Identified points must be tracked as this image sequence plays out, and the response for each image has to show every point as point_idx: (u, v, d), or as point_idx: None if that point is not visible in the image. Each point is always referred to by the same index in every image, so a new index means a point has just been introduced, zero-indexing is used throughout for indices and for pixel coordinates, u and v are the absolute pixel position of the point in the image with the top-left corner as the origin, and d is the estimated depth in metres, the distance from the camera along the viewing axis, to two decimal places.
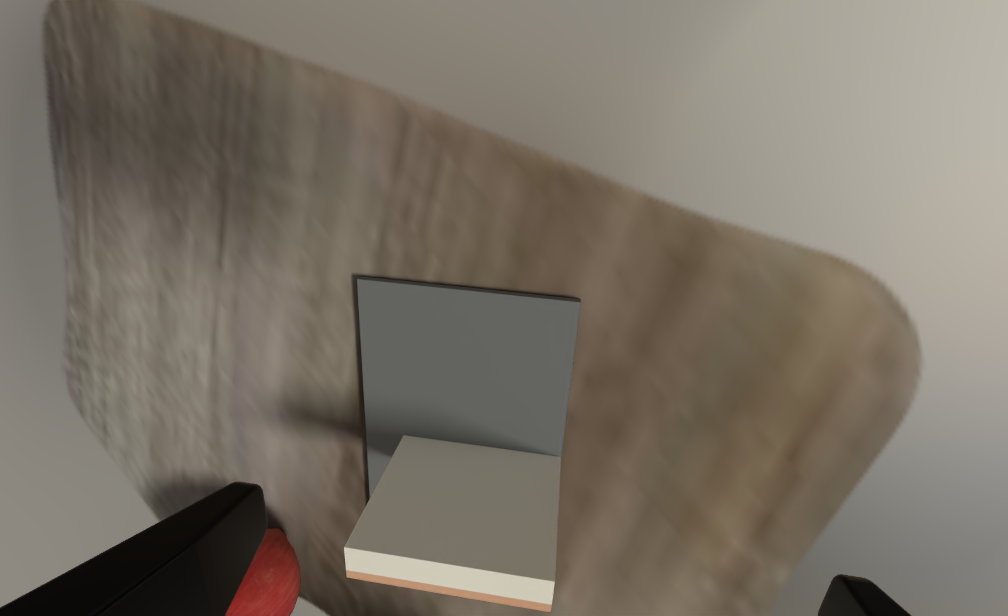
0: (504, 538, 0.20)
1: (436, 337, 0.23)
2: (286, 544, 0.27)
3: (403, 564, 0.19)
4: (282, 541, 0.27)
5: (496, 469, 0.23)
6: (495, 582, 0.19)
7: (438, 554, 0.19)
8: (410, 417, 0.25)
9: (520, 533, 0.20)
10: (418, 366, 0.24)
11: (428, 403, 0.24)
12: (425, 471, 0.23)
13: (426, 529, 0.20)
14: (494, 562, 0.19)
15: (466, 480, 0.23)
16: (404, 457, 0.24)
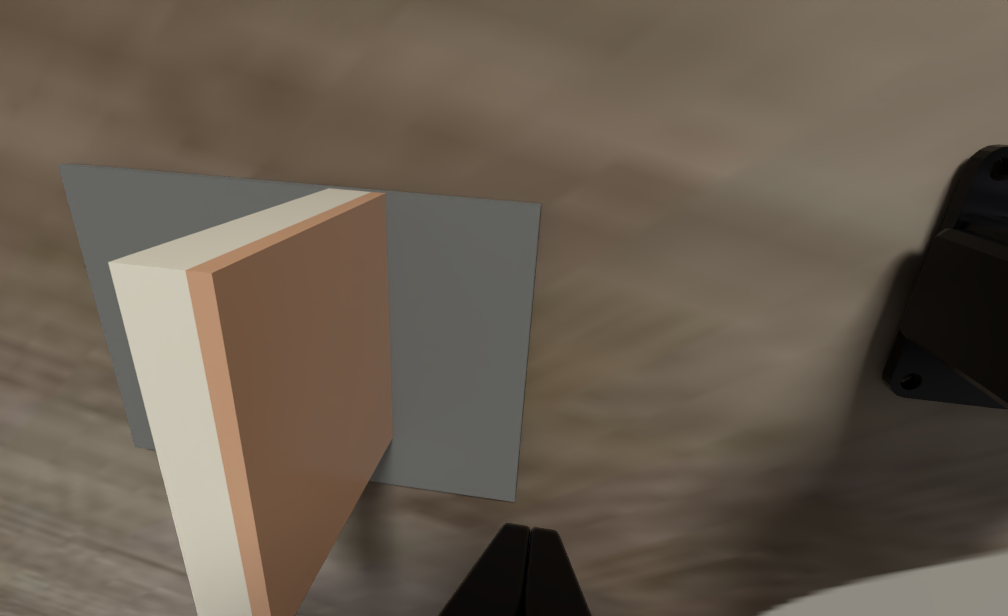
0: None
1: None
2: None
3: (201, 555, 0.09)
4: None
5: None
6: (171, 394, 0.08)
7: None
8: None
9: None
10: None
11: None
12: None
13: None
14: None
15: None
16: None
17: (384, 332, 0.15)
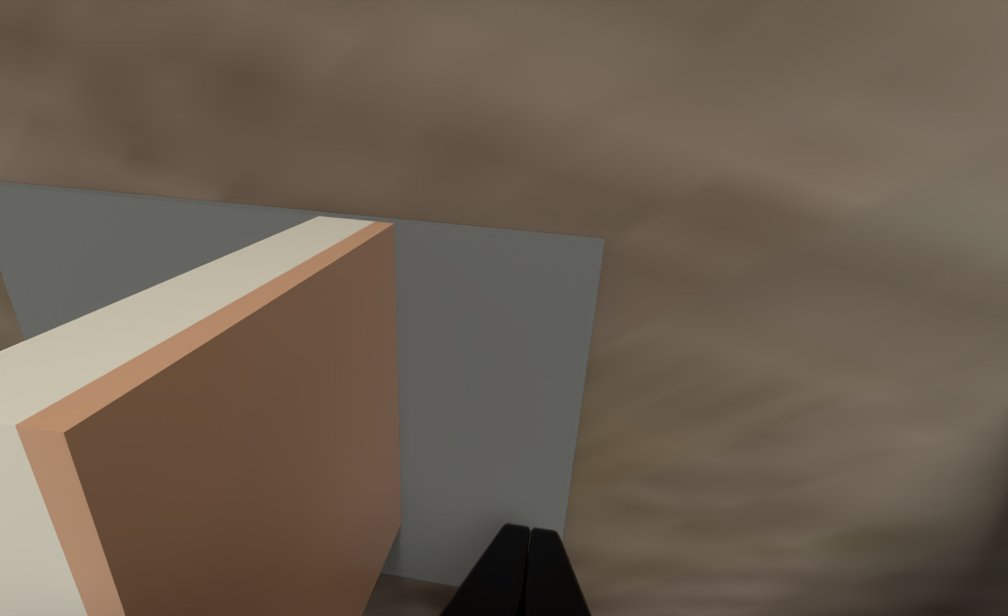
0: None
1: None
2: None
3: None
4: None
5: None
6: (24, 610, 0.05)
7: None
8: None
9: None
10: None
11: None
12: None
13: None
14: None
15: None
16: None
17: (391, 401, 0.11)
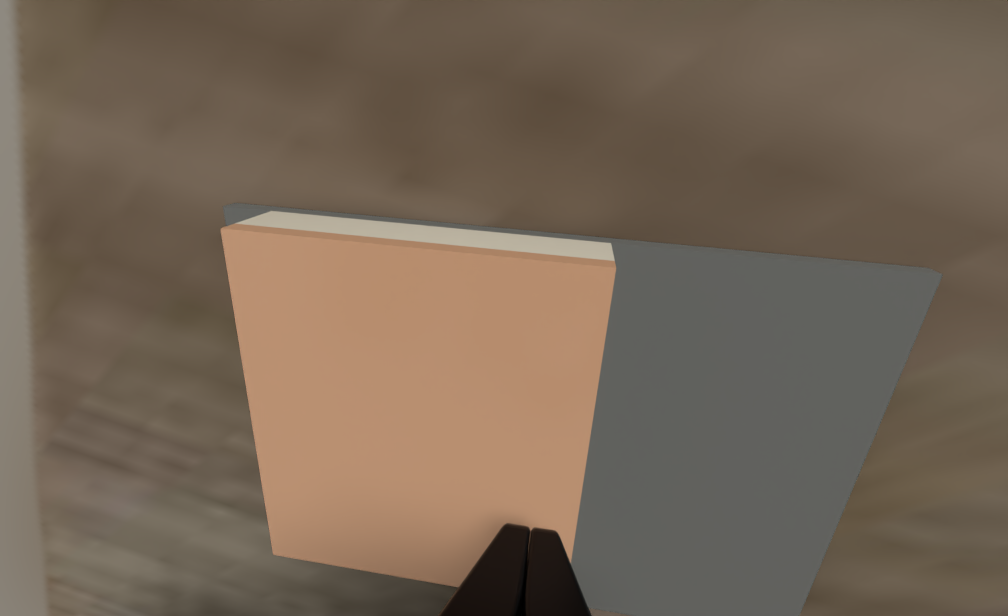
0: None
1: None
2: None
3: None
4: None
5: None
6: None
7: None
8: None
9: None
10: None
11: None
12: None
13: None
14: None
15: None
16: None
17: (564, 459, 0.10)
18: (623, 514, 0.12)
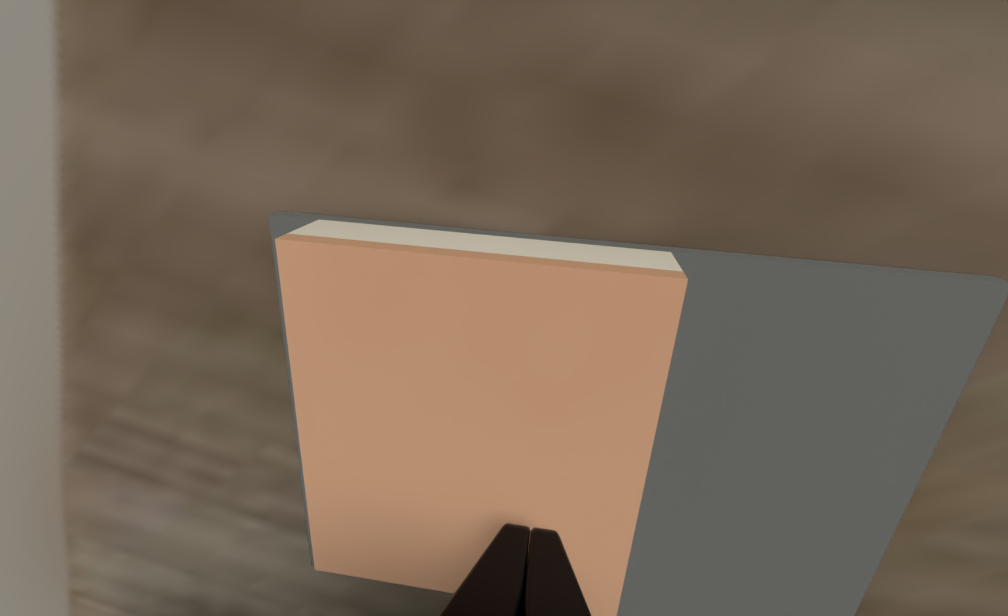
0: None
1: None
2: None
3: None
4: None
5: None
6: None
7: None
8: None
9: None
10: None
11: None
12: None
13: None
14: None
15: None
16: None
17: (624, 473, 0.10)
18: (671, 526, 0.12)
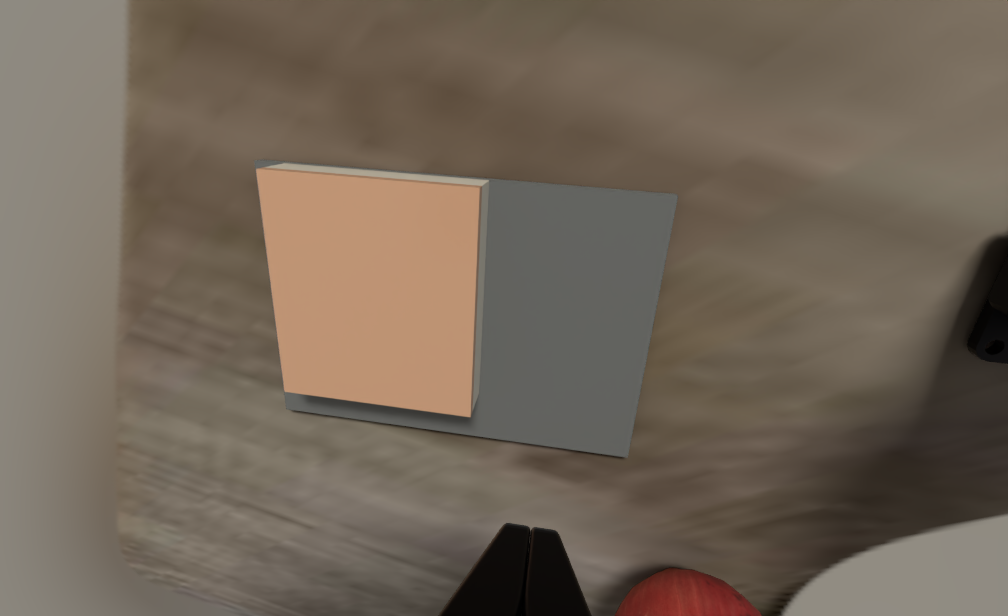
0: None
1: None
2: (650, 577, 0.19)
3: None
4: (644, 580, 0.19)
5: None
6: None
7: None
8: None
9: None
10: None
11: None
12: None
13: None
14: None
15: None
16: None
17: (462, 311, 0.16)
18: (513, 365, 0.18)
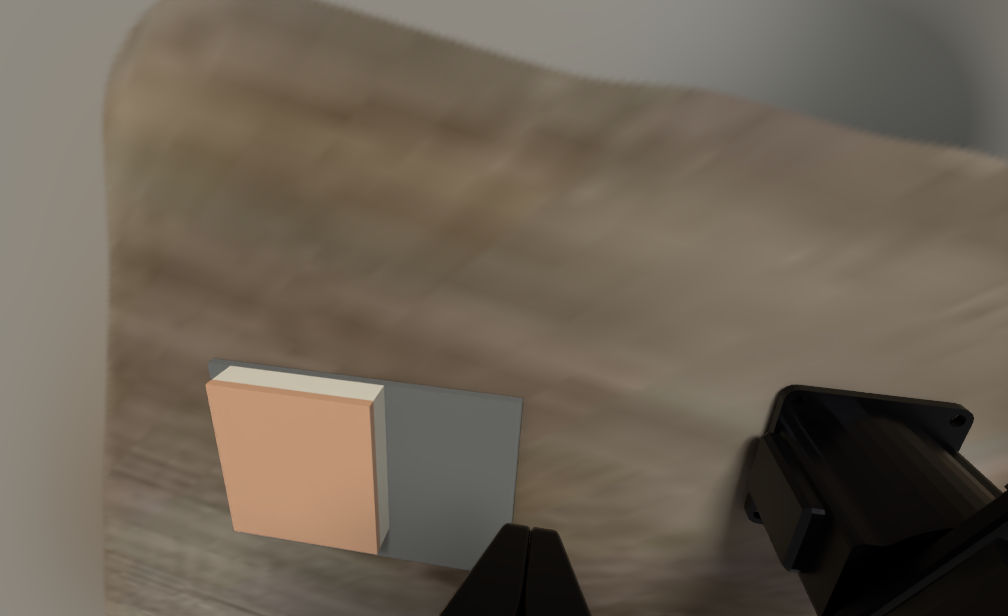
0: None
1: None
2: None
3: None
4: None
5: None
6: None
7: None
8: None
9: None
10: None
11: None
12: None
13: None
14: None
15: None
16: None
17: (364, 483, 0.21)
18: (413, 509, 0.24)
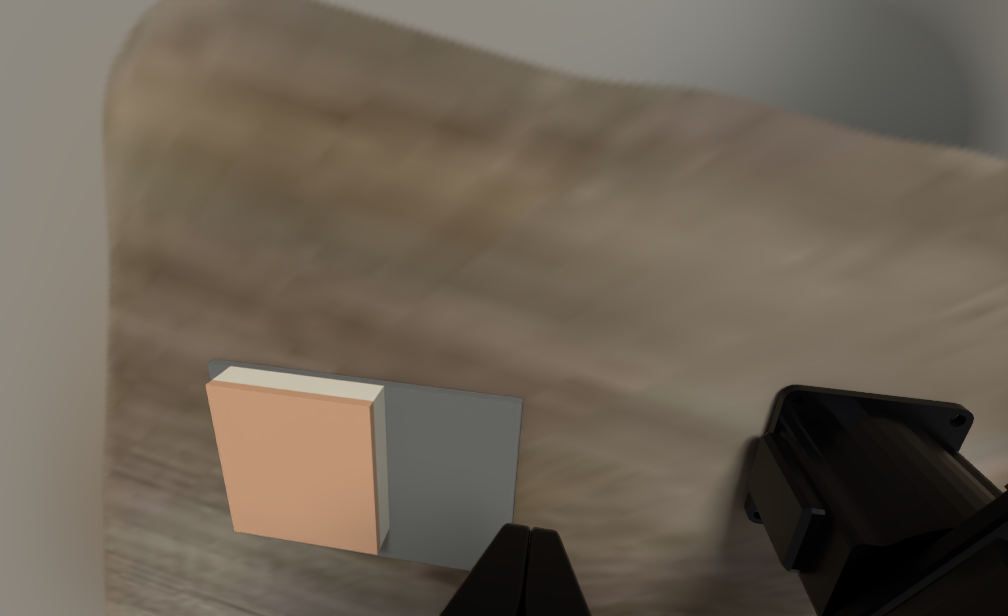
0: None
1: None
2: None
3: None
4: None
5: None
6: None
7: None
8: None
9: None
10: None
11: None
12: None
13: None
14: None
15: None
16: None
17: (364, 484, 0.21)
18: (413, 509, 0.24)
